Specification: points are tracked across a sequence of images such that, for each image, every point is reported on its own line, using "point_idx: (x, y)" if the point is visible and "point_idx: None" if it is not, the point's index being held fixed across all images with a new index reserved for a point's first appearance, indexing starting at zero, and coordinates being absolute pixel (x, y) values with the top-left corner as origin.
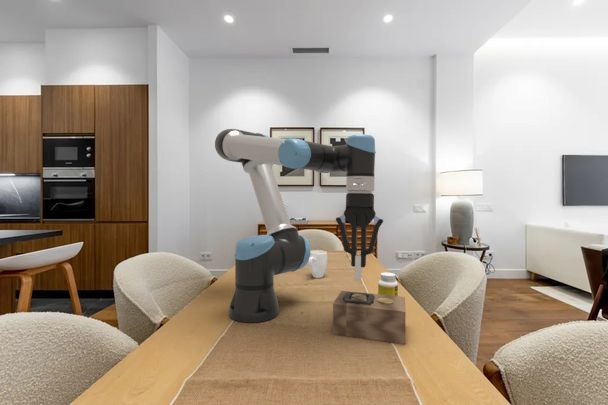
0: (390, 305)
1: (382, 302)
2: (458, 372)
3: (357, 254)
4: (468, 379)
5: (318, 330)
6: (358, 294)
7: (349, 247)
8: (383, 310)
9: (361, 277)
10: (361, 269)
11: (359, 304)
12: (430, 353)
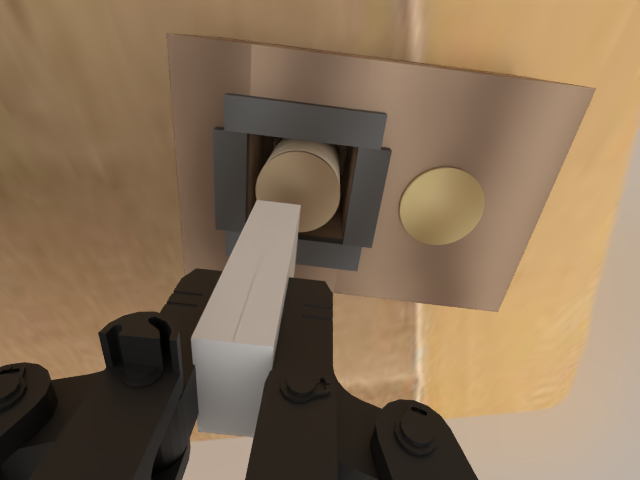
0: (452, 254)
1: (418, 240)
2: (539, 349)
3: (210, 368)
4: (545, 367)
5: (168, 195)
6: (292, 164)
7: (16, 451)
8: (407, 299)
9: (300, 205)
10: (293, 252)
11: (304, 265)
12: (514, 282)
